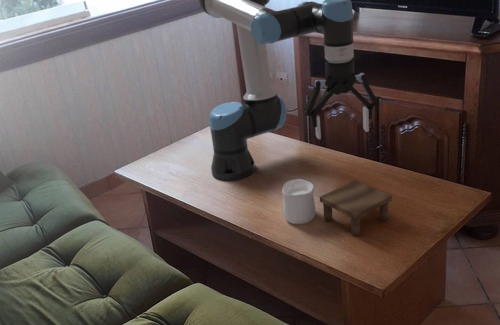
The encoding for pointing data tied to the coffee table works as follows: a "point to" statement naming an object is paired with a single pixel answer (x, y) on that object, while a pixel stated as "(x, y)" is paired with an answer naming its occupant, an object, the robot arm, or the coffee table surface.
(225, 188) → the coffee table surface
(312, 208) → the cup
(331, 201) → the footstool
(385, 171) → the coffee table surface
